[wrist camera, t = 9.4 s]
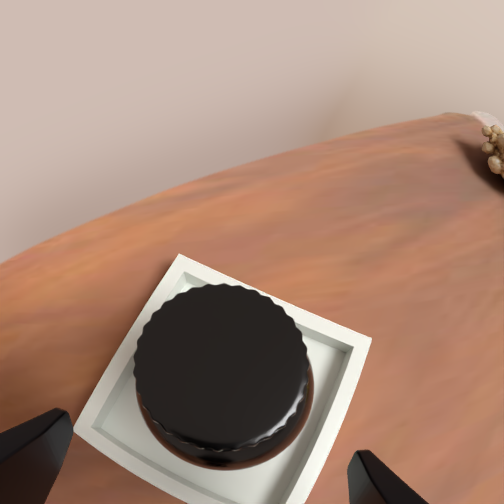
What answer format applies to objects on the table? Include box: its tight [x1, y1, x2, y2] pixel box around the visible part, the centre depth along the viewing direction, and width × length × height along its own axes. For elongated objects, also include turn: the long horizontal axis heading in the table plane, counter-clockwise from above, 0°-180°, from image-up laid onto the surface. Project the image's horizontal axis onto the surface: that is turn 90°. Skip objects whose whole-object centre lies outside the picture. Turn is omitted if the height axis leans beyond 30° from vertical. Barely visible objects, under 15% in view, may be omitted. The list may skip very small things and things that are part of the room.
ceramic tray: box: [73, 254, 372, 504], centre depth 18 cm, size 14×14×2 cm
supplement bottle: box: [133, 283, 314, 471], centre depth 13 cm, size 7×7×12 cm
